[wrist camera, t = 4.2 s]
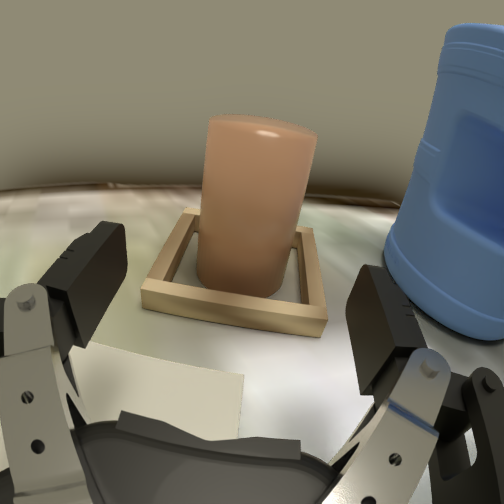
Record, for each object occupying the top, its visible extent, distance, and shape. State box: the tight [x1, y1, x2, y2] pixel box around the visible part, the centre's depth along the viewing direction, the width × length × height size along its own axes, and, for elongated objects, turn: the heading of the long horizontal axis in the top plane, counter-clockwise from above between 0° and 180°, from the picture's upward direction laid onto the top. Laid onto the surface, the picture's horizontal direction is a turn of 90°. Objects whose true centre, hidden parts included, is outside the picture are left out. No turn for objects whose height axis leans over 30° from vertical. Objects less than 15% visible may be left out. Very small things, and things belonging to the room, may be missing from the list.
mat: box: [0, 341, 244, 472], centre depth 10 cm, size 10×10×1 cm
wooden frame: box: [141, 207, 328, 338], centre depth 21 cm, size 10×10×2 cm
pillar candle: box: [196, 114, 318, 298], centre depth 20 cm, size 6×8×10 cm
